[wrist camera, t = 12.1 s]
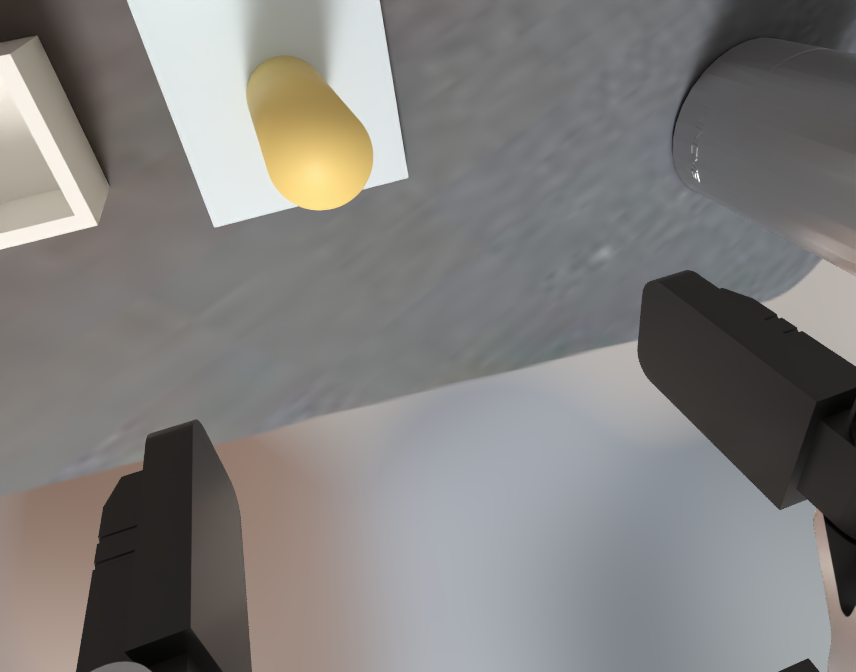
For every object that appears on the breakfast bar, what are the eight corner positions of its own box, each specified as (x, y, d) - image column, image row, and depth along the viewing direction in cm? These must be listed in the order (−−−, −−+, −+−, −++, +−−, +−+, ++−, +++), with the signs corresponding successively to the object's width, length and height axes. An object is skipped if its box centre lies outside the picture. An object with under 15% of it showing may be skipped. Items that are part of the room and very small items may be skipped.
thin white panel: (367, -51, 26) (371, -50, 25) (404, 172, 32) (408, 177, 31) (127, -6, 24) (125, -4, 23) (213, 221, 30) (214, 227, 29)
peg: (316, 47, 26) (361, 91, 19) (335, 129, 28) (382, 195, 21) (235, 65, 26) (250, 116, 19) (260, 147, 28) (282, 221, 21)
